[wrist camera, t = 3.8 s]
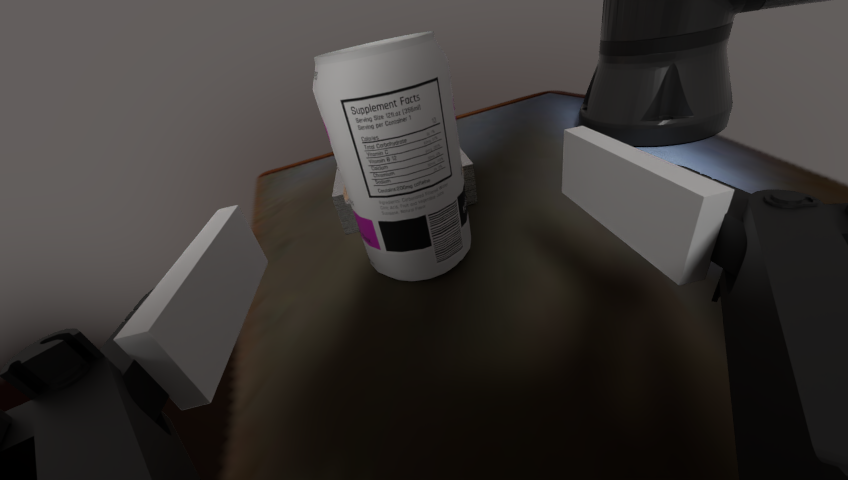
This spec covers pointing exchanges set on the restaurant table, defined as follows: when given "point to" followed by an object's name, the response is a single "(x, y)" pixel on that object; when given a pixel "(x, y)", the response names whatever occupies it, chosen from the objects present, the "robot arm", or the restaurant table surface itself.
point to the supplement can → (398, 152)
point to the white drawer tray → (347, 212)
